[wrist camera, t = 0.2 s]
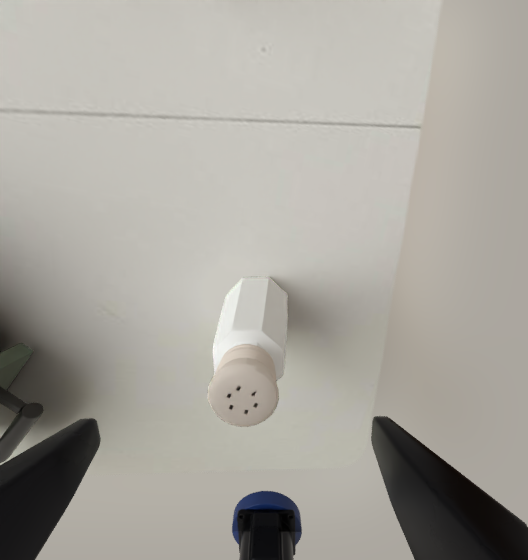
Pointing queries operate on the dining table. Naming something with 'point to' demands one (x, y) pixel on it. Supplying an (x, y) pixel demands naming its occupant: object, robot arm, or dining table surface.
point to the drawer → (15, 400)
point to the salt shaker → (249, 352)
